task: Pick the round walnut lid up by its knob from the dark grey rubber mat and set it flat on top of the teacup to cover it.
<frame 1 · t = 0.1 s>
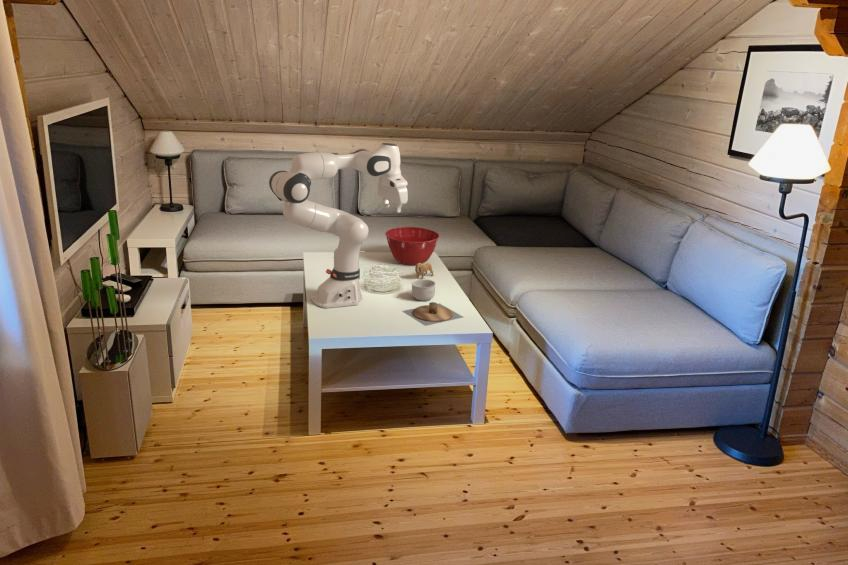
hand: (392, 209, 300), 39 cm above the table, tool pointing down, fingers open, 8 cm apart
lion figurine: (424, 278, 333), on the table
mixing bowl: (411, 261, 357), on the table
mat: (432, 314, 288), on the table
teacup: (423, 298, 307), on the table
lid: (433, 308, 287), on the mat
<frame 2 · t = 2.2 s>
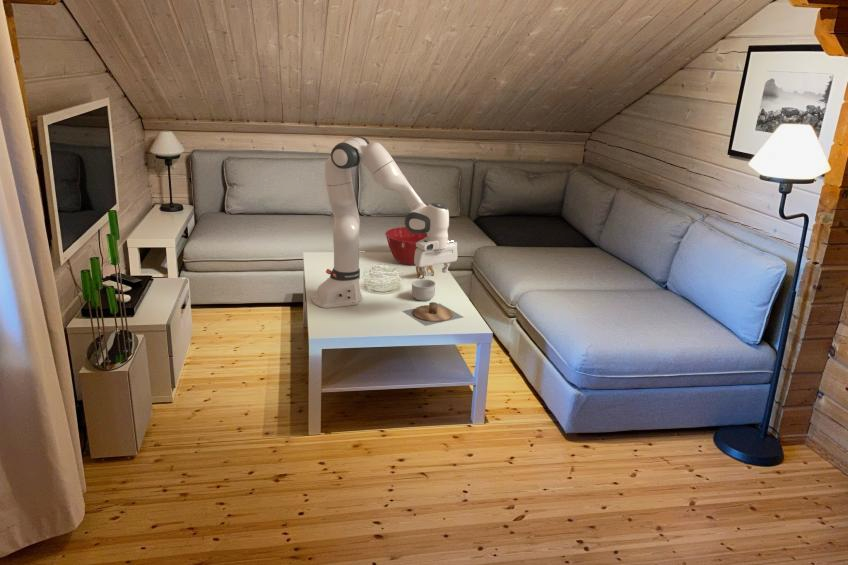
hand: (435, 273, 281), 19 cm above the table, tool pointing down, fingers open, 8 cm apart
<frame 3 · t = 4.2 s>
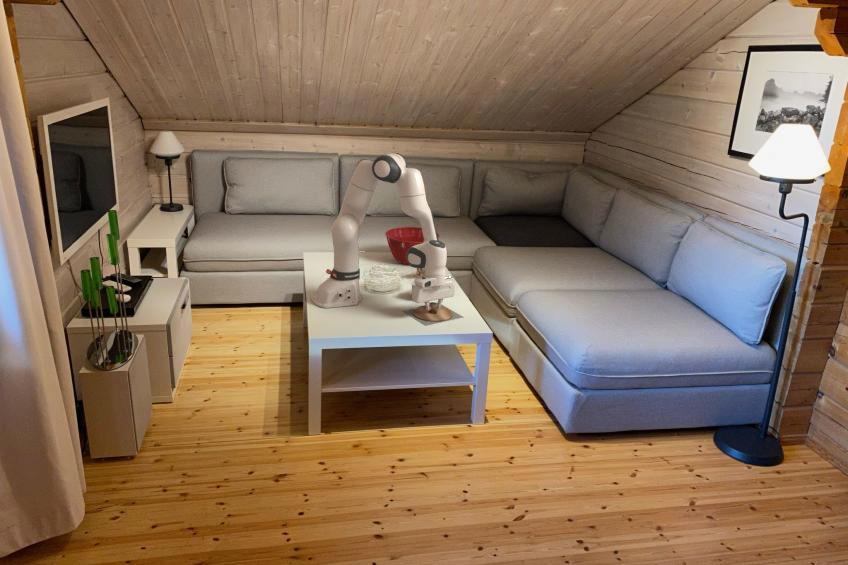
hand: (433, 309, 287), 3 cm above the table, tool pointing down, fingers closed on lid, 3 cm apart
lid: (433, 308, 287), on the mat, touching gripper
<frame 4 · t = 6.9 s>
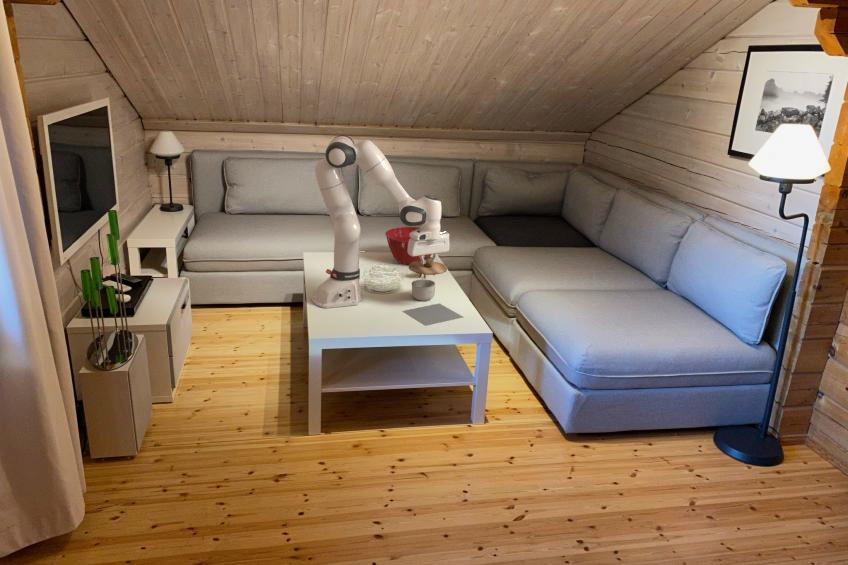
hand: (427, 263, 294), 19 cm above the table, tool pointing down, fingers closed on lid, 3 cm apart
lid: (428, 263, 294), point 19 cm above the table, touching gripper
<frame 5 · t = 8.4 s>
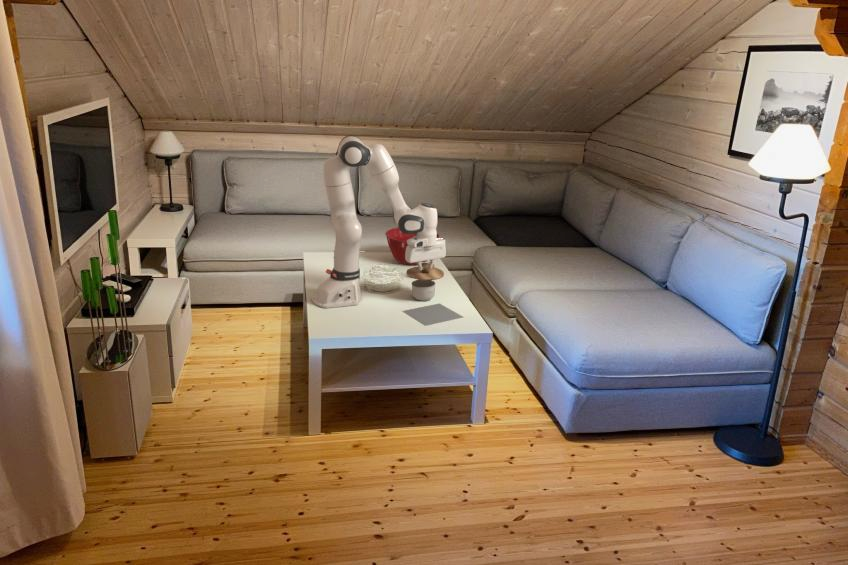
hand: (425, 269, 302), 14 cm above the table, tool pointing down, fingers closed on lid, 3 cm apart
lid: (425, 269, 302), point 14 cm above the table, touching gripper
when the fingers open (12 cm above the table, at t = 9.4 s): lid drops 2 cm, resting on teacup.
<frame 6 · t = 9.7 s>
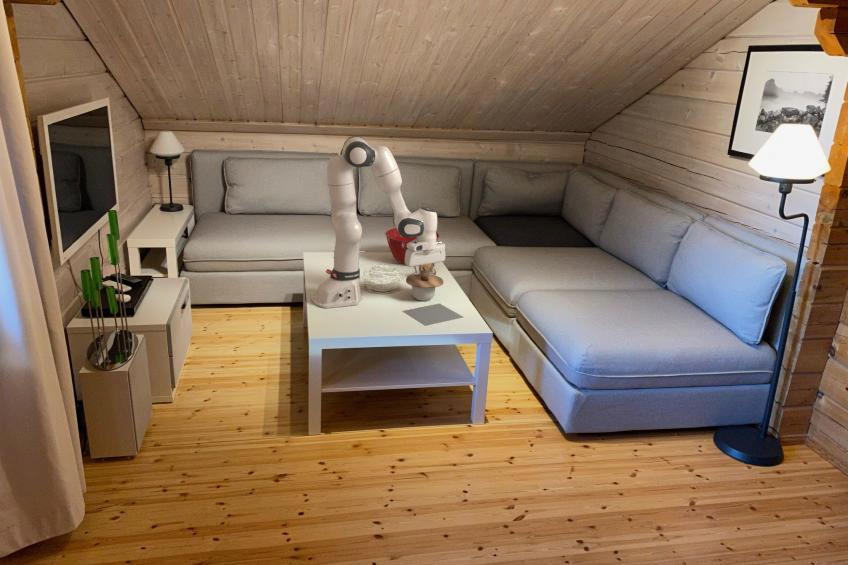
hand: (424, 272, 303), 12 cm above the table, tool pointing down, fingers open, 6 cm apart
teacup: (423, 298, 307), on the table, touching lid
lid: (424, 276, 303), point 10 cm above the table, touching teacup
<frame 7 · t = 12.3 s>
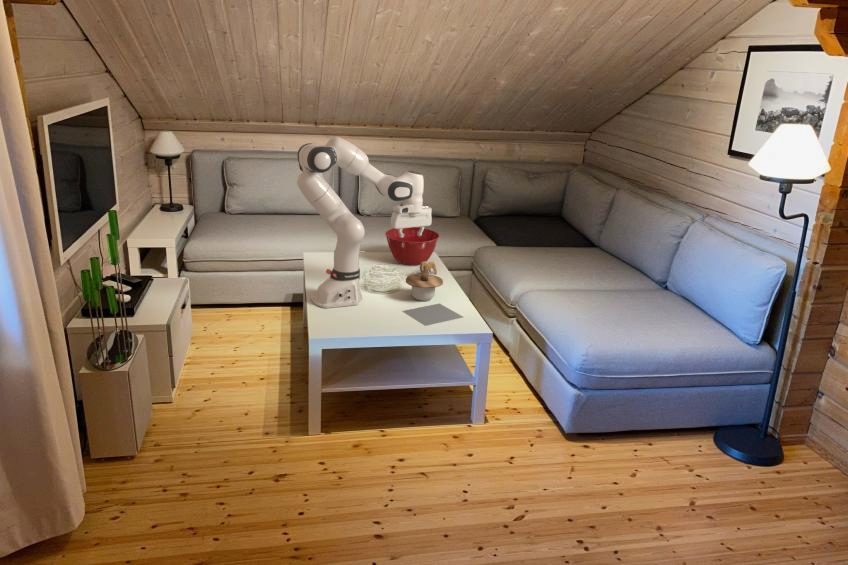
hand: (410, 236, 306), 26 cm above the table, tool pointing down, fingers open, 8 cm apart
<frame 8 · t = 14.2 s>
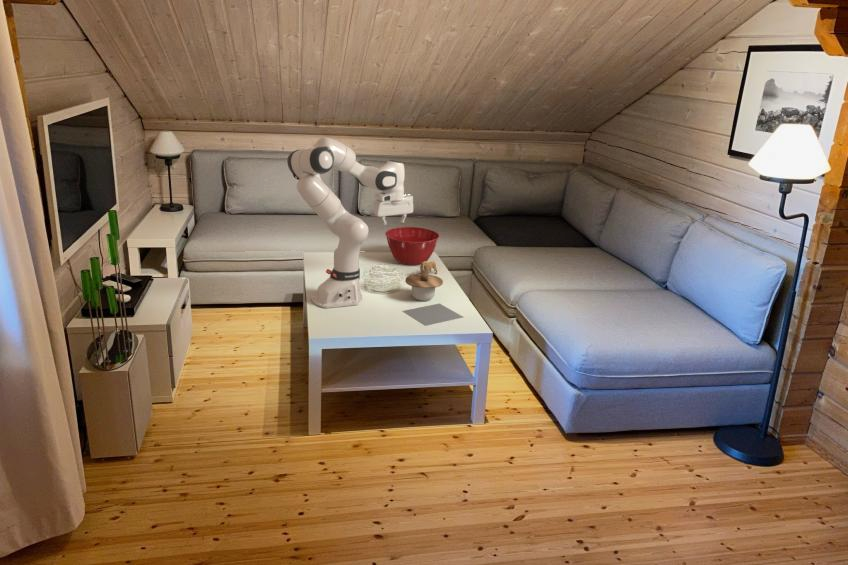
hand: (393, 223, 315), 29 cm above the table, tool pointing down, fingers open, 8 cm apart
at the end: lid 0.3 cm from the teacup (horizontally); lid point 10.3 cm above the table; lid tilted 0° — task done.
